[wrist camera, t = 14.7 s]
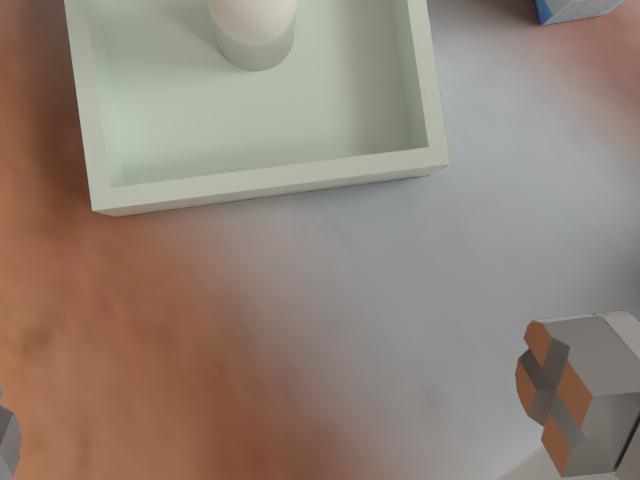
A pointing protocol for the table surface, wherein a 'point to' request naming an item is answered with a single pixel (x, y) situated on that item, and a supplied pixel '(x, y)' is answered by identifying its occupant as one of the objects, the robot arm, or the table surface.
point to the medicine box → (572, 9)
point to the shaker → (254, 31)
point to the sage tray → (251, 103)
